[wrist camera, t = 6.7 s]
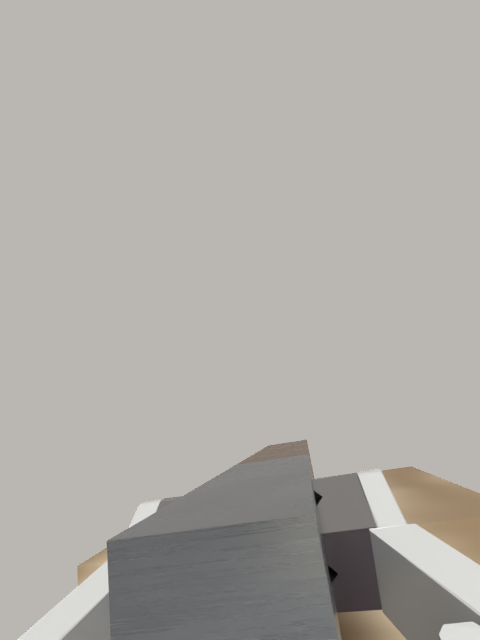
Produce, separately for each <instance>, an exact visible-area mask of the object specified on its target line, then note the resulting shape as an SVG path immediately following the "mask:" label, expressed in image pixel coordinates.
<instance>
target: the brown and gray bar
mask: <svg viewBox="0 0 480 640" xmlns="http://www.w3.org/2000/svg"><path fill="white" fill-rule="evenodd" d="M312 479H314V475H313V471H312V465H311V460H310V454H309V449H308V444H307V440H302V441H296V442H290V443H283V444H276V445H270V446H267V447H266V448H264V449H262V450H261V451H259V452H257V453H255V454H254V455H252V456H251V457H249V458H247V459H245V460H244V461H242V462H240V463H239V464H237V465H235V466H233V467H232V468H230V469H228V470H227V471H225V472H223V473H221V474H220V475H218V476H216V477H215V478H213V479H211V480H210V481H208V482H206V483H204V484H203V485H201V486H199V487H198V488H196V489H195V490H193V491H191V492H189V493H187V494H186V495H184V496H182V497H181V498H179V499H177V500H176V501H174V502H172V503H171V504H169V505H167V506H165V507H164V508H162V509H160V510H159V511H157V512H155V513H154V514H152V515H150V516H148V517H147V518H145V519H143V520H142V521H140V522H138V523H137V524H135V525H133V526H131V527H130V528H128V529H127V530H125V531H123V532H121V533H120V534H118V535H116V536H115V537H113V538H111V539H109V540H108V541H107V560H108V586H109V611H110V637H111V640H342V638H341V632H340V626H339V621H338V615H337V609H336V604H335V599H334V594H333V589H332V584H331V579H330V573H329V568H328V564H327V559H326V554H325V549H324V544H323V539H322V534H321V529H320V523H319V517H318V512H317V505H316V500H315V495H314V490H313V484H312Z"/></svg>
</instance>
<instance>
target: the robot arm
mask: <svg viewBox="0 0 480 640" xmlns="http://www.w3.org/2000/svg"><path fill="white" fill-rule="evenodd" d="M312 484H313V490H314V495H315V500H316V505H317V512H318V517H319V523H320V529H321V534H322V539H323V544H324V549H325V554H326V559H327V564H328V568H329V573H330V579H331V584H332V589H333V594H334V599H335V604H336V609H337V613H340V612H356V611H371V610H382V611H383V613H384V614H385V616H386V617H387V618H388V619H389V620H390V621H391V622H392V623H393V625H394V626H395V627H396V628H397V629H398V630H399V631H400V632H401V634H402V635H403V636H404V637H405V638H406V639H407V640H480V565H479V564H477V563H476V562H474V561H473V560H471V559H470V558H468V557H466V556H465V555H463V554H462V553H460V552H459V551H457V550H456V549H454V548H452V547H451V546H449V545H448V544H446V543H445V542H443V541H442V540H440V539H439V538H437V537H435V536H434V535H432V534H431V533H429V532H428V531H426V530H425V529H423V528H421V527H420V526H418V525H417V524H407V522H406V520H405V518H404V516H403V514H402V512H401V510H400V508H399V506H398V504H397V502H396V499H395V497H394V495H393V493H392V491H391V489H390V487H389V485H388V483H387V481H386V479H385V477H384V475H383V473H382V471H381V470H380V469H379V468H377V469H371V470H365V471H359V472H356V473H352V474H346V475H339V476H331V477H324V478H317V479H312ZM179 498H181V497H173V498H165V499H158V500H150V501H144V502H142V503H141V504H139V506H138V508H137V510H136V513H135V514H134V517H133V519H132V521H131V523H130V526H129V527H128V528H130V527H131V526H133V525H135V524H137V523H138V522H140V521H142V520H143V519H145V518H147V517H148V516H150V515H152V514H154V513H155V512H157V511H159V510H160V509H162V508H164V507H165V506H167V505H169V504H171V503H172V502H174V501H176V500H177V499H179ZM17 640H111V637H110V611H109V586H108V561H106V562H105V563H104V564H103V565H102V566H100V567H99V568H98V569H97V570H96V571H95V572H94V573H92V574H91V575H90V576H89V577H88V578H87V579H86V580H84V581H83V582H82V583H81V584H80V585H79V586H78V587H77V588H75V589H74V590H73V591H72V592H71V593H70V594H69V595H67V596H66V597H65V598H64V599H63V600H62V601H61V602H59V603H58V604H57V605H56V606H55V607H54V608H53V609H51V610H50V611H49V612H48V613H47V614H46V615H45V616H44V617H43V618H41V619H40V620H39V621H38V622H37V623H36V624H35V625H33V626H32V627H31V628H30V629H29V630H28V631H26V632H25V633H24V634H23V635H22V636H21V637H20V638H18V639H17Z"/></svg>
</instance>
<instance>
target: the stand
mask: <svg viewBox="0 0 480 640" xmlns="http://www.w3.org/2000/svg"><path fill="white" fill-rule="evenodd" d="M382 473H383V475H384V477H385V479H386V481H387V483H388V485H389V487H390V489H391V491H392V493H393V495H394V497H395V499H396V502H397V504H398V506H399V508H400V510H401V512H402V514H403V516H404V518H405V520H406V522H407V524H417V525H418V526H420V527H421V528H423V529H425V530H426V531H428V532H429V533H431V534H432V535H434V536H435V537H437V538H439V539H440V540H442V541H443V542H445V543H446V544H448V545H449V546H451V547H452V548H454V549H456V550H457V551H459V552H460V553H462V554H463V555H465V556H466V557H468V558H470V559H471V560H473V561H474V562H476V563H477V564H479V565H480V494H479V493H477V492H474V491H472V490H469V489H467V488H464V487H462V486H459V485H457V484H454V483H451V482H449V481H446V480H444V479H441V478H439V477H436V476H434V475H431V474H429V473H426V472H424V471H421V470H418V469H416V468H413V467H405V468H398V469H391V470H384V471H382ZM106 561H108V560H107V548H106V549H104V550H103V551H101V552H99V553H98V554H96V555H95V556H93V557H91V558H90V559H88V560H87V561H85V562H83V563H82V564H80V565H79V566H78V586H79V585H80V584H81V583H82V582H83V581H84V580H86V579H87V578H88V577H89V576H90V575H91V574H92V573H94V572H95V571H96V570H97V569H98V568H99V567H100V566H102V565H103V564H104V563H105V562H106ZM337 615H338V621H339V626H340V632H341V638H342V640H407V639H406V638H405V637H404V636H403V635H402V634H401V632H400V631H399V630H398V629H397V628H396V627H395V626H394V625H393V623H392V622H391V621H390V620H389V619H388V618H387V617H386V616H385V614H384V613H383V611H382V610H371V611H356V612H340V613H337Z"/></svg>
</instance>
